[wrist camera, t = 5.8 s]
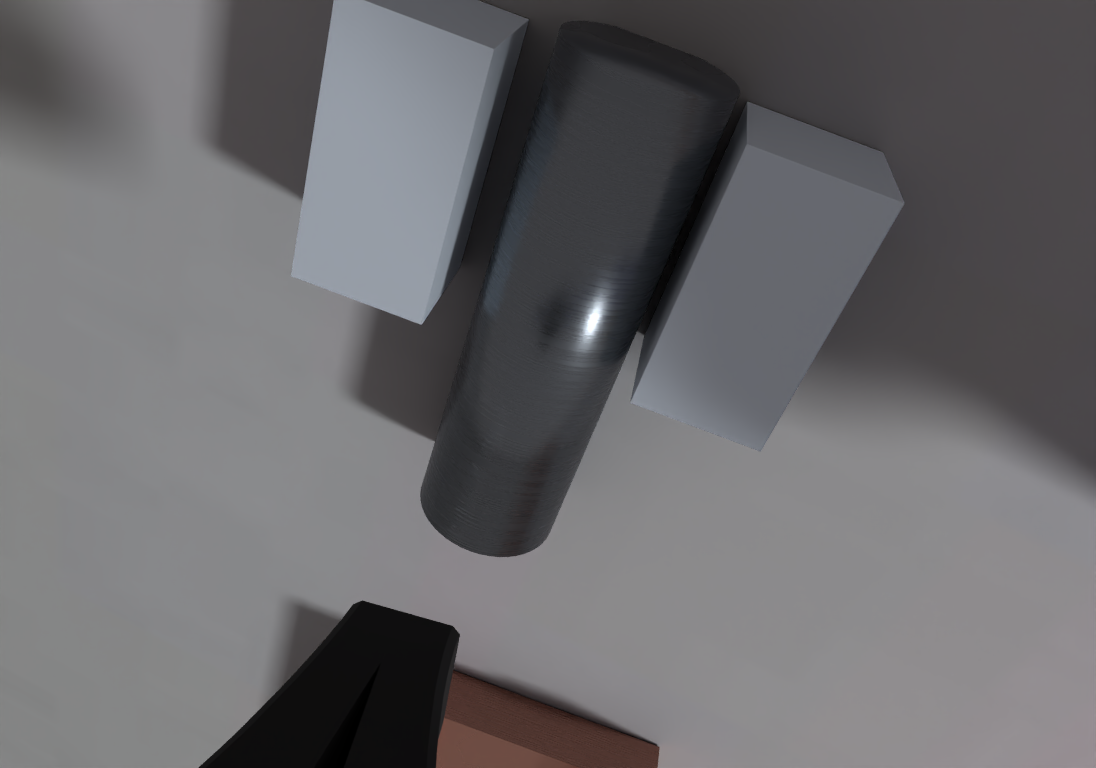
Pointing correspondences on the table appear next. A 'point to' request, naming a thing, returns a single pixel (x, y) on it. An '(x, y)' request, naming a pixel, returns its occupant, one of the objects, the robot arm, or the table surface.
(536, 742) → the v block
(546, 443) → the axle
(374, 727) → the robot arm
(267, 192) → the table surface
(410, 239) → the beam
